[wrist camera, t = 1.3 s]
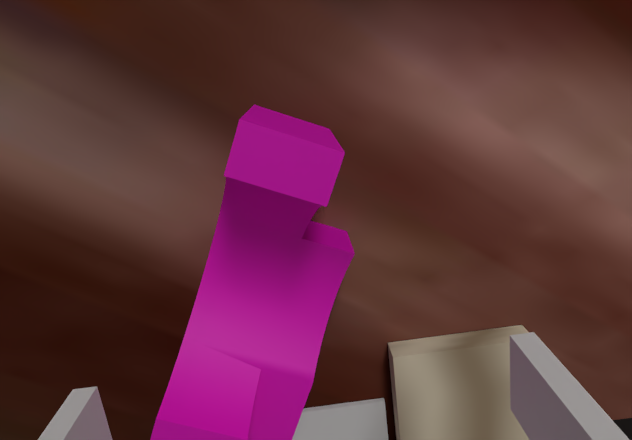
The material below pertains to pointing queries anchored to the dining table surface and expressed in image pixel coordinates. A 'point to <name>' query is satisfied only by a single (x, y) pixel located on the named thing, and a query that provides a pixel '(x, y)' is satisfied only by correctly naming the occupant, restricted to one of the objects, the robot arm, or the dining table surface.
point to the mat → (344, 422)
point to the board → (454, 386)
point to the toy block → (261, 288)
